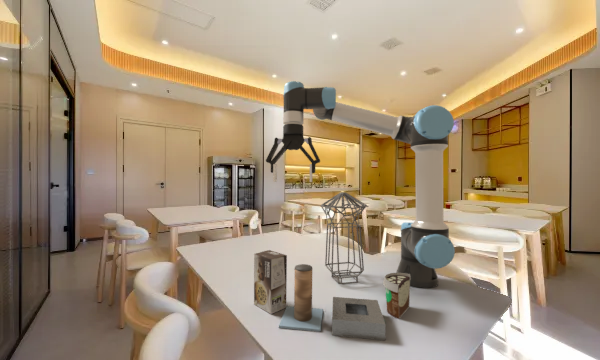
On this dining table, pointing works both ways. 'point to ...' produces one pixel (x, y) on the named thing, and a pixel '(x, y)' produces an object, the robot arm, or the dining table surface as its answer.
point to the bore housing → (357, 318)
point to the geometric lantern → (351, 199)
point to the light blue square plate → (292, 323)
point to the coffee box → (270, 280)
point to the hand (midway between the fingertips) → (292, 181)
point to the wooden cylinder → (303, 293)
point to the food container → (397, 293)
